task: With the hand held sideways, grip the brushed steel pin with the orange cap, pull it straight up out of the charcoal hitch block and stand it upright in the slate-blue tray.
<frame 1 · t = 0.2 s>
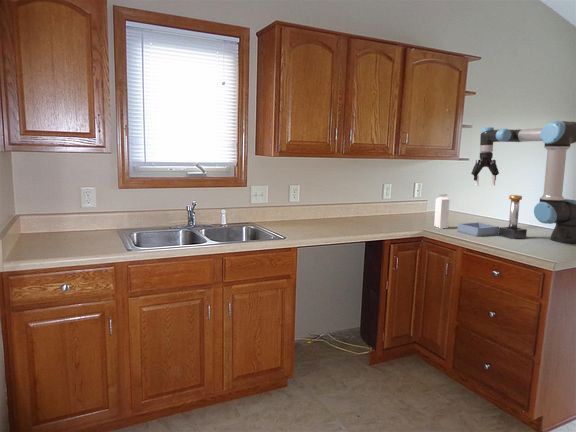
hand: (484, 185, 270), 27 cm above the worktop, tool pointing down, fingers open, 13 cm apart
pin: (513, 216, 242), in the hitch block
milk: (440, 228, 272), on the worktop
tray: (477, 233, 254), on the worktop
hitch block: (512, 236, 244), on the worktop
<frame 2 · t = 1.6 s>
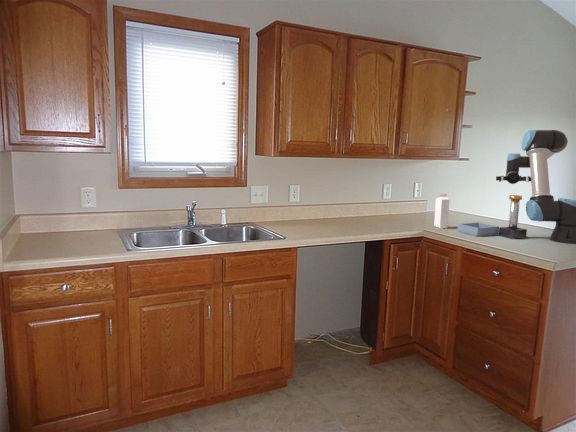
hand: (514, 179, 256), 32 cm above the worktop, tool horizontal, fingers open, 13 cm apart
nothing on the worktop moved.
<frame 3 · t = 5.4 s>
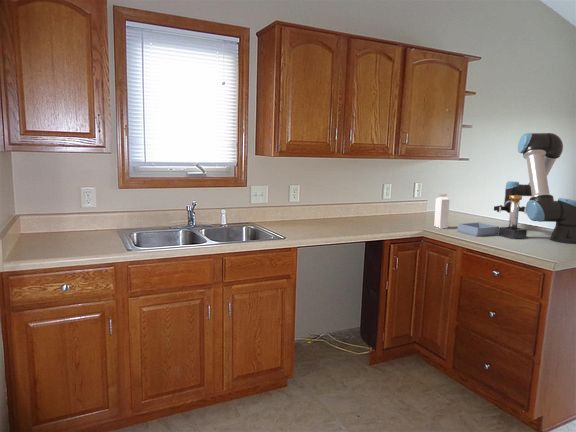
hand: (512, 211, 250), 14 cm above the worktop, tool horizontal, fingers open, 13 cm apart
nothing on the worktop moved.
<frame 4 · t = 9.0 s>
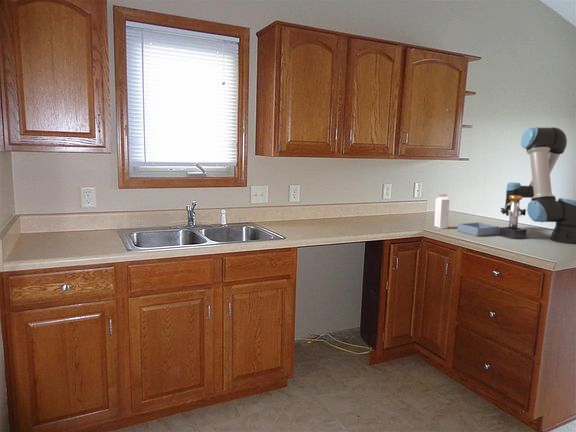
hand: (514, 214, 237), 14 cm above the worktop, tool horizontal, fingers closed on pin, 4 cm apart
pin: (513, 216, 242), in the hitch block, touching gripper
everything else where it was.
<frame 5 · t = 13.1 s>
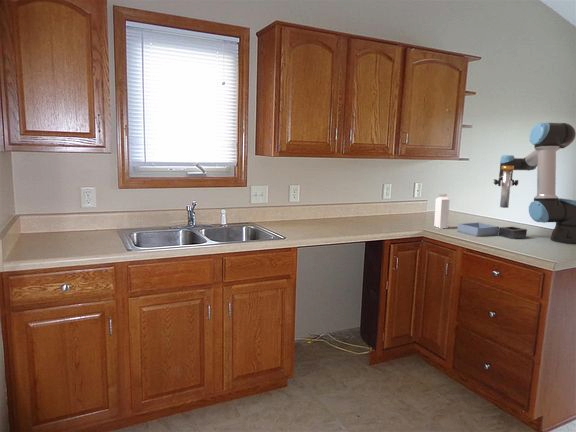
hand: (506, 183, 239), 31 cm above the worktop, tool horizontal, fingers closed on pin, 4 cm apart
pin: (505, 186, 244), point 29 cm above the worktop, touching gripper
everything else where it was.
when the fingers open (16 cm above the worktop, at t = 17.3 s): pin drops 1 cm, resting on tray.
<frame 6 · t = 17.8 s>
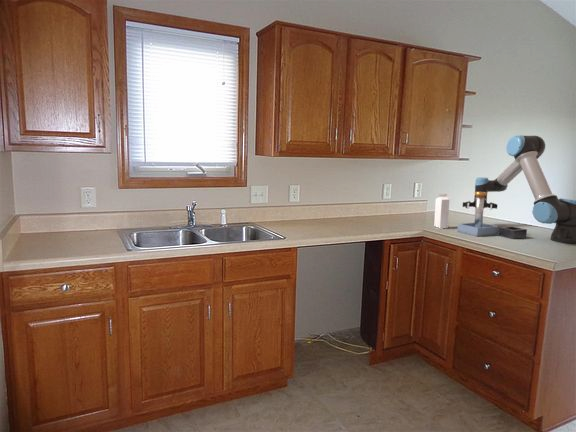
hand: (479, 207, 249), 16 cm above the worktop, tool horizontal, fingers open, 12 cm apart
pin: (479, 212, 253), in the tray, point 13 cm above the worktop
everything else where it was.
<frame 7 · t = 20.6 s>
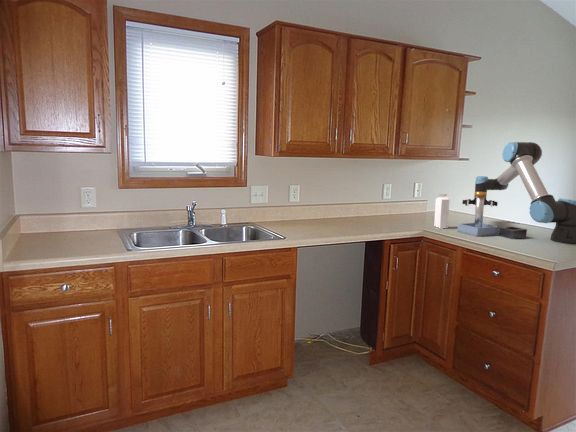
hand: (479, 204, 260), 17 cm above the worktop, tool horizontal, fingers open, 13 cm apart
nothing on the worktop moved.
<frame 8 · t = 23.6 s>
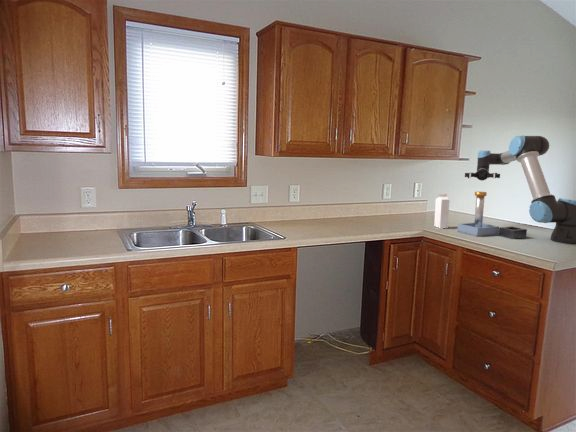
hand: (481, 176, 259), 34 cm above the worktop, tool horizontal, fingers open, 13 cm apart
nothing on the worktop moved.
at the end: pin inside the target area on the tray (0.1 cm from its centre), point 13.0 cm above the tray's base; pin tilted 0°; the gripper is holding nothing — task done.
